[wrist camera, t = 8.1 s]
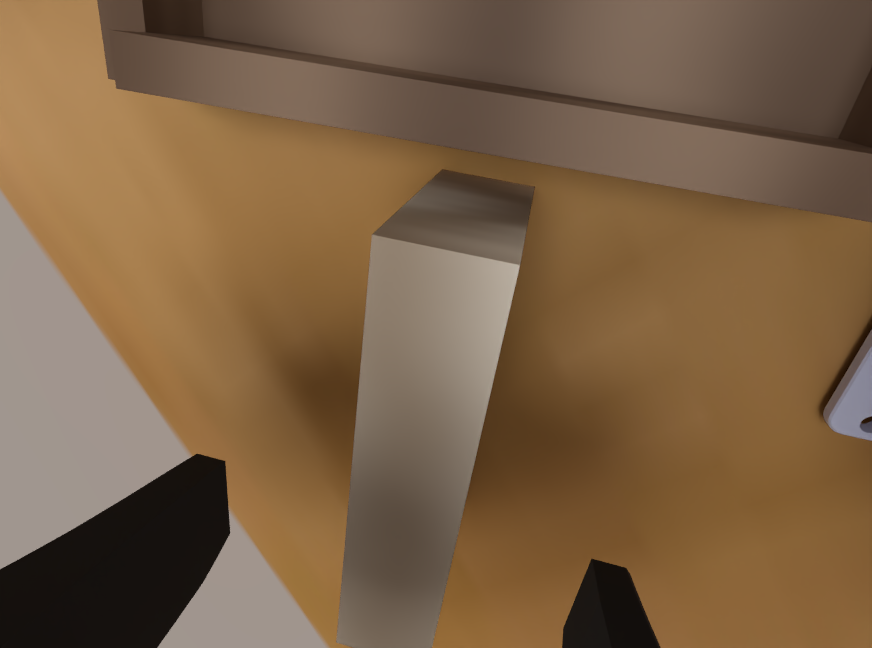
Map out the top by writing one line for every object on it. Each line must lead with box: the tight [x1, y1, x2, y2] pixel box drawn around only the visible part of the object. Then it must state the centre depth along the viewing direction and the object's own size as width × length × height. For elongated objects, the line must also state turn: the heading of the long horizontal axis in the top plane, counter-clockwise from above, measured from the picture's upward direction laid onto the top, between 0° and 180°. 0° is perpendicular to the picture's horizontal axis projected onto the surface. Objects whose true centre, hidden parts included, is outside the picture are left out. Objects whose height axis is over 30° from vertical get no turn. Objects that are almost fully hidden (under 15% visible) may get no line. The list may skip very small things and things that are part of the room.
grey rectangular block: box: [336, 170, 535, 648], centre depth 14 cm, size 2×11×6 cm, turn 172°
